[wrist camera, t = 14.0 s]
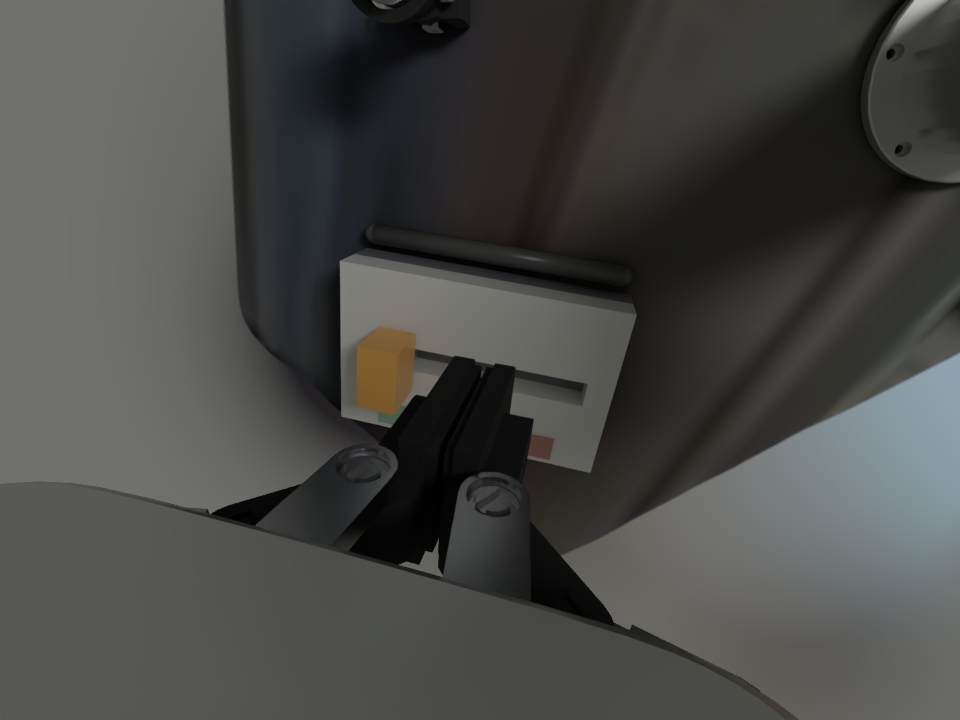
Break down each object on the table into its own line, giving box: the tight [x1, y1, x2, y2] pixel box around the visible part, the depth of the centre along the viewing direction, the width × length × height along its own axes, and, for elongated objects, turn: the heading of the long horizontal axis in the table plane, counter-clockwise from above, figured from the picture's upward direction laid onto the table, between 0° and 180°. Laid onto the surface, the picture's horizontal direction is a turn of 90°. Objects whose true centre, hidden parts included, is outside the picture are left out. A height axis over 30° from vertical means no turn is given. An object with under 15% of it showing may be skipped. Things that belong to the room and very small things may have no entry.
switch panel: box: [340, 223, 637, 473], centre depth 38 cm, size 22×16×5 cm
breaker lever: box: [357, 327, 418, 415], centre depth 36 cm, size 3×5×6 cm, turn 172°
